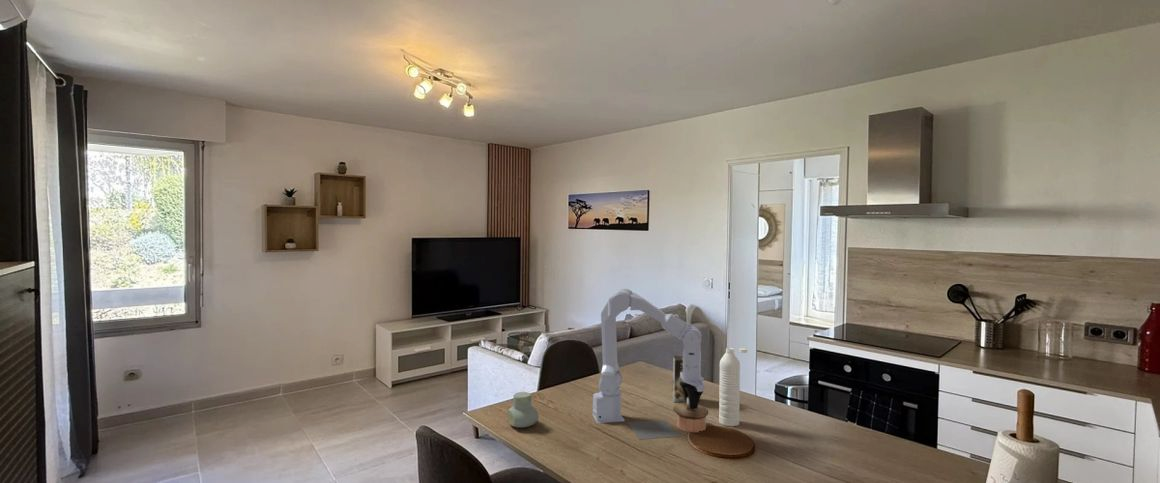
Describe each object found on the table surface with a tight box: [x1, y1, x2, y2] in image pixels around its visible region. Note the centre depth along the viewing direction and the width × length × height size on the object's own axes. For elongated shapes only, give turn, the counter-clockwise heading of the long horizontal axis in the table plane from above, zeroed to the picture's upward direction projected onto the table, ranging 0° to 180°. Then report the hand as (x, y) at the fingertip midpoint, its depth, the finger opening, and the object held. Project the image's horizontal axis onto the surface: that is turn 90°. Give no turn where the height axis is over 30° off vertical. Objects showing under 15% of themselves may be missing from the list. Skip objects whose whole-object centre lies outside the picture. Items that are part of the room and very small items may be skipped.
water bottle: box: [718, 347, 748, 427], centre depth 160 cm, size 9×6×25 cm
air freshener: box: [506, 391, 539, 429], centre depth 159 cm, size 11×8×10 cm
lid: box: [672, 397, 709, 418], centre depth 156 cm, size 11×11×4 cm
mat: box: [627, 419, 681, 441], centre depth 154 cm, size 13×13×1 cm
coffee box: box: [671, 355, 686, 404], centre depth 181 cm, size 9×6×16 cm
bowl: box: [676, 413, 707, 433], centre depth 156 cm, size 9×9×4 cm
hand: (691, 406), depth 156 cm, fingers closed on lid, 3 cm apart
